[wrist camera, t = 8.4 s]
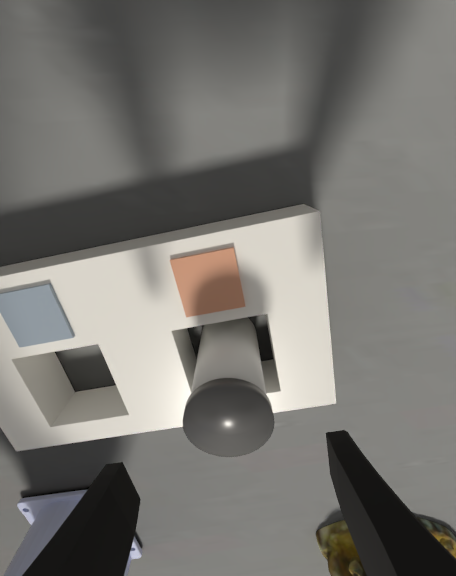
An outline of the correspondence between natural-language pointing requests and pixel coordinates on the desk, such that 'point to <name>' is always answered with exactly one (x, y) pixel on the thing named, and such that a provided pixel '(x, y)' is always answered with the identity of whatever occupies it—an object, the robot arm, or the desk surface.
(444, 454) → the desk surface
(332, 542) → the mottled yellow lump
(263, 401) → the plug
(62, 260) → the white flat block
